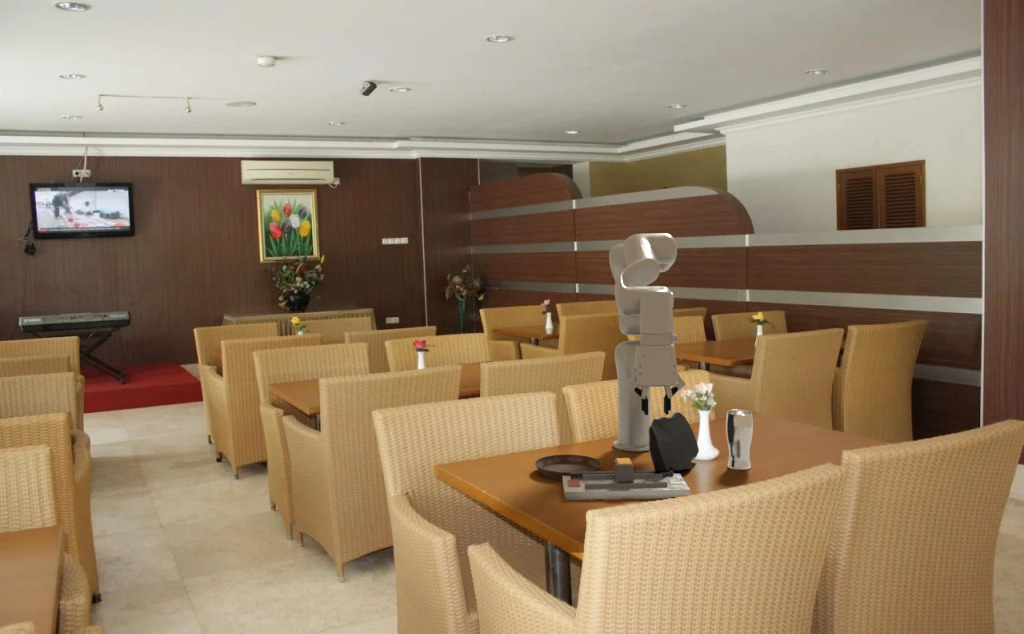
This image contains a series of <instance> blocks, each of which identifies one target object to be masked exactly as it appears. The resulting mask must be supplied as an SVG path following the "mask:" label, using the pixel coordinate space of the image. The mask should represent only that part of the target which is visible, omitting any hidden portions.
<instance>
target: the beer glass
mask: <svg viewBox="0 0 1024 634" xmlns="http://www.w3.org/2000/svg"><path fill="white" fill-rule="evenodd" d="M753 426H754V424H753V412H752V411H750V410H747V409H731V410H728V411H726V420H725V435H726V440H727V448H728V461H727V468H729V470H734V471H747V470H750V469H751V467H752V466H751V465H752V464H751V459H750V458H751V457H750V450H751V444H752V440H753V430H754V427H753Z"/></svg>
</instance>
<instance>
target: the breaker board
mask: <svg viewBox="0 0 1024 634" xmlns="http://www.w3.org/2000/svg"><path fill="white" fill-rule="evenodd" d="M561 483H562V490H563V495H564V501H592V500H593V499H603V500H643V499H645V500H651V499H652V500H653V499H656V500H657V499H672V498H671V497H678V496H685V495H690V496H691V489H690V487H689V485H688V484H687V482H686V481H685V479H684V477H682V474H681V473H674V471H672V470H668V471H654V469H647V470H646V469H645V470H644V469H643V470H641V469H640V470H639V469H637V470H635V469H634V483H616V481H615V470H598V471H579V472H570V476H562V480H561ZM588 499H589V500H588Z"/></svg>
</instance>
